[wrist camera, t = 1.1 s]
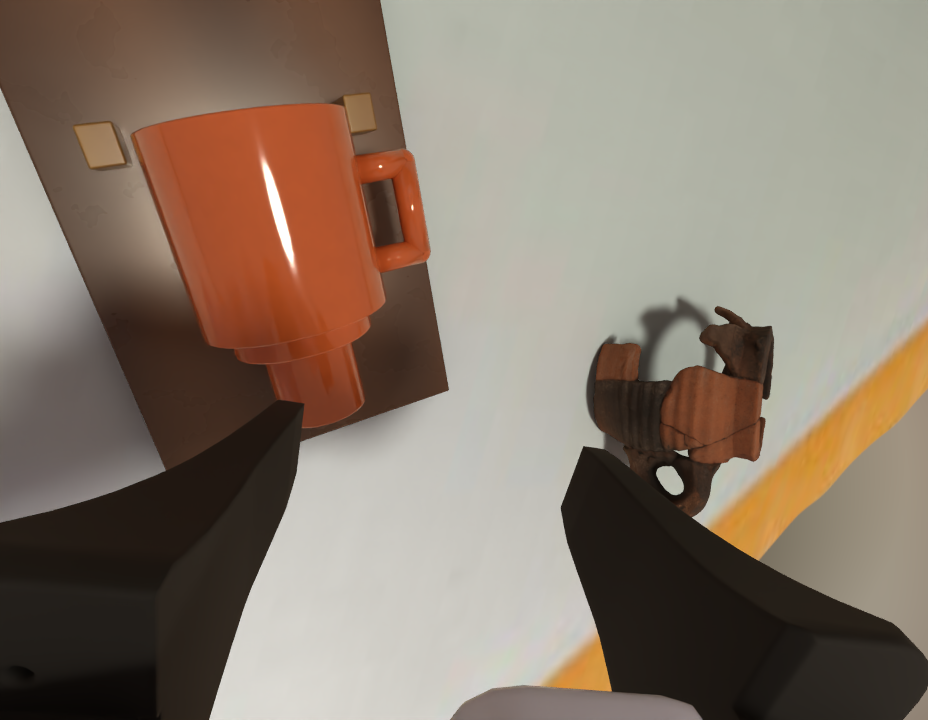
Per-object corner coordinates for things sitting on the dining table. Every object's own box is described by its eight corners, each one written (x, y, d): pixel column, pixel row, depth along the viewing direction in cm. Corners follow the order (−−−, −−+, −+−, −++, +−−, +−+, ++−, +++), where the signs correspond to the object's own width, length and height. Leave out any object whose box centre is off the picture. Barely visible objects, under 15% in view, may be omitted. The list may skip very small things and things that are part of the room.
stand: (173, 474, 21) (170, 510, 19) (-101, -165, 14) (-164, -240, 11) (441, 383, 25) (466, 404, 23) (346, -139, 18) (368, -190, 15)
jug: (377, 115, 20) (422, 349, 23) (140, 144, 17) (233, 406, 20) (439, 86, 15) (486, 392, 18) (114, 122, 12) (244, 478, 15)
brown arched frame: (600, 288, 29) (773, 292, 24) (643, 321, 36) (780, 329, 32) (569, 507, 28) (741, 553, 23) (619, 492, 36) (755, 525, 31)
